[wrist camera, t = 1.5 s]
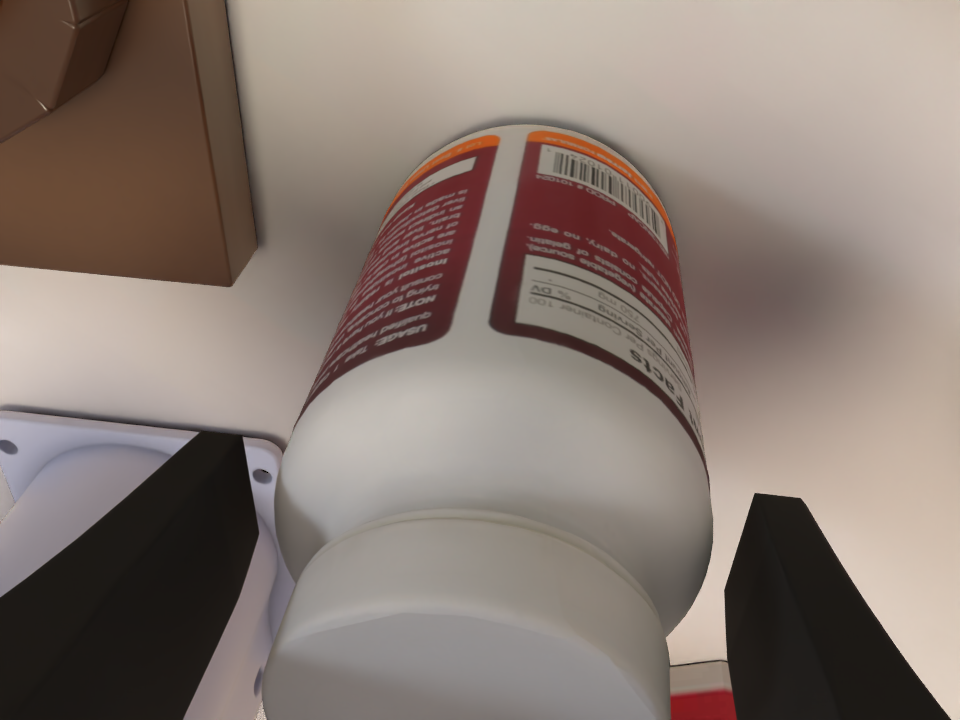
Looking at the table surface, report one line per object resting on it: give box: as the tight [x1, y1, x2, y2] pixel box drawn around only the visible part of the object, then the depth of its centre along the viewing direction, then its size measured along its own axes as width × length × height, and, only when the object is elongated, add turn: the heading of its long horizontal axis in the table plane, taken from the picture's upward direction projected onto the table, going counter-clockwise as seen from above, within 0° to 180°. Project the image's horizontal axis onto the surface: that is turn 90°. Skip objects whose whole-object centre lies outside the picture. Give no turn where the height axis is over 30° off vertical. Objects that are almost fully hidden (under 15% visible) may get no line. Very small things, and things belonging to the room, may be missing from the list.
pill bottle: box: [262, 124, 713, 720], centre depth 14 cm, size 6×6×11 cm
